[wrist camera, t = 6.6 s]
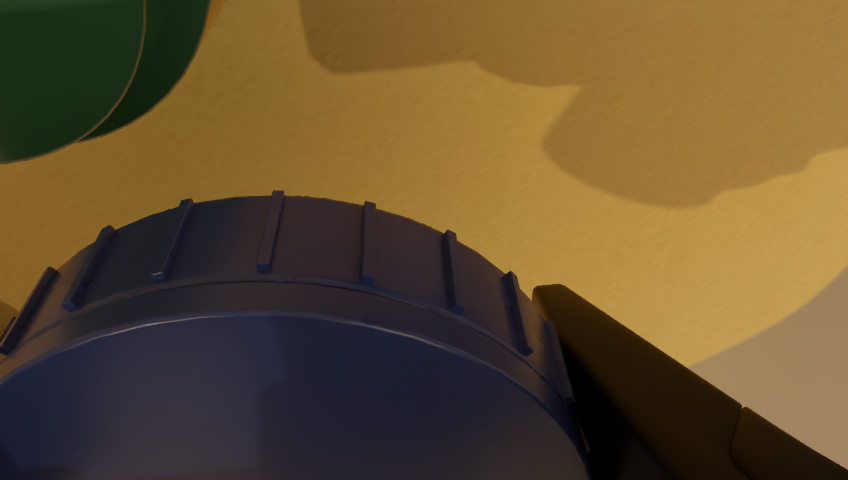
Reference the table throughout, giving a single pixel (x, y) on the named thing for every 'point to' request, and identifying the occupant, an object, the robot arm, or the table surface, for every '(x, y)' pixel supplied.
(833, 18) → the table surface
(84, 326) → the lid
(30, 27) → the jar
